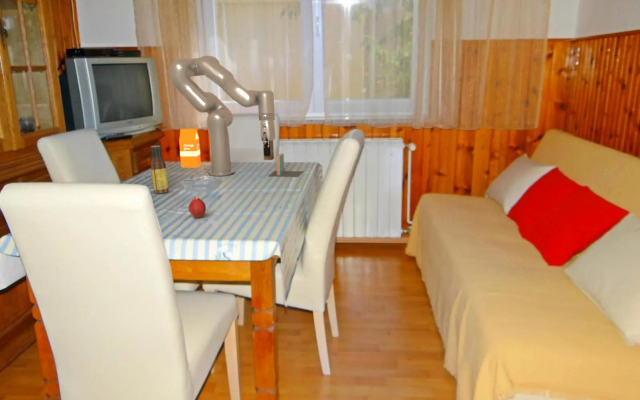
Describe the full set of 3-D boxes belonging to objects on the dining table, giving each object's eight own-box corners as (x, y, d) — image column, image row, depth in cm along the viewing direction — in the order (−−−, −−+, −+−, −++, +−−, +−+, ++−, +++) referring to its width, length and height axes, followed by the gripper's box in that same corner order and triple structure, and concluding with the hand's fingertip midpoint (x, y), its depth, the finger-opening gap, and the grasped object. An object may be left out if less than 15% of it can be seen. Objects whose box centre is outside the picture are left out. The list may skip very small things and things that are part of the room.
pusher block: (263, 160, 251) (262, 139, 249) (266, 158, 255) (265, 138, 252) (271, 160, 250) (270, 139, 248) (273, 158, 254) (273, 138, 252)
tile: (277, 174, 250) (276, 156, 247) (280, 171, 257) (280, 153, 255) (280, 174, 249) (279, 156, 247) (284, 171, 257) (283, 153, 255)
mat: (267, 178, 247) (267, 176, 246) (274, 172, 260) (274, 170, 260) (298, 178, 244) (298, 177, 244) (304, 172, 258) (304, 171, 257)
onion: (190, 216, 184) (189, 194, 182) (207, 215, 185) (205, 193, 183) (188, 220, 179) (186, 198, 177) (205, 220, 179) (203, 197, 177)
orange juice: (197, 167, 276) (194, 129, 271) (181, 167, 276) (178, 129, 271) (201, 164, 283) (198, 127, 278) (185, 164, 283) (182, 128, 278)
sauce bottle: (171, 191, 222) (168, 145, 217) (163, 194, 216) (158, 147, 211) (159, 190, 224) (154, 144, 219) (149, 193, 219) (145, 146, 214)
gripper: (269, 118, 239) (271, 157, 244) (278, 115, 255) (280, 152, 259) (254, 118, 240) (256, 157, 245) (263, 115, 256) (265, 152, 261)
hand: (268, 154), depth 252 cm, fingers closed on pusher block, 4 cm apart
